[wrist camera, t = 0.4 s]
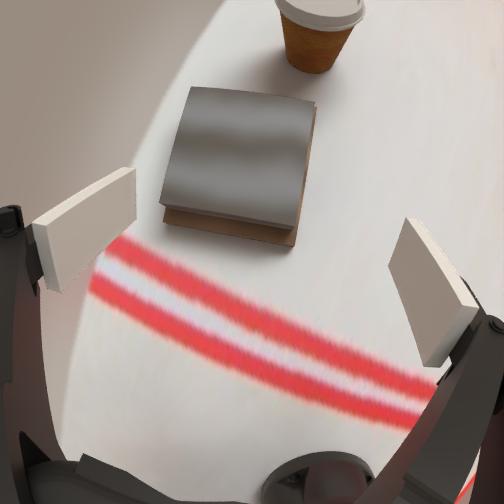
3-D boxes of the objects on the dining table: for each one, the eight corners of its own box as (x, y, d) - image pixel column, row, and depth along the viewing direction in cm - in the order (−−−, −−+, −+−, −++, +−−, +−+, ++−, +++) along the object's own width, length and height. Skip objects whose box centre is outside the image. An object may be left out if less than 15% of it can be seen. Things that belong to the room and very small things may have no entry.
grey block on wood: (293, 246, 33) (297, 243, 28) (167, 223, 34) (151, 216, 29) (314, 113, 33) (321, 91, 28) (199, 97, 34) (190, 75, 29)
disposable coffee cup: (288, 90, 34) (294, 25, 22) (264, 38, 34) (261, -27, 22) (358, 77, 33) (384, 18, 21) (329, 27, 34) (342, -33, 22)
